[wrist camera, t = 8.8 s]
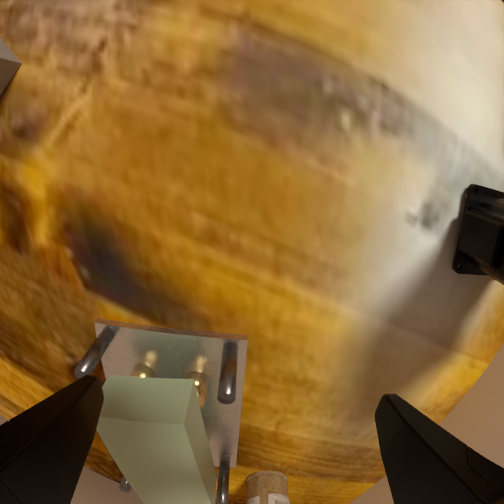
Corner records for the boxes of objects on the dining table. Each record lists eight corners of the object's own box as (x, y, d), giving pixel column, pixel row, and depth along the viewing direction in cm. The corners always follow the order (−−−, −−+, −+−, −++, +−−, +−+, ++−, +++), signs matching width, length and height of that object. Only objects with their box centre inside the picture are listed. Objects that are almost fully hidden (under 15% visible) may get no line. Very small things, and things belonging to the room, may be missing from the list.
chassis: (99, 315, 21) (63, 362, 16) (247, 332, 22) (247, 390, 16) (129, 445, 26) (114, 490, 20) (236, 460, 27) (234, 508, 21)
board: (109, 374, 19) (88, 414, 15) (193, 379, 19) (184, 424, 15) (151, 469, 22) (143, 503, 19) (217, 474, 22) (214, 511, 19)
